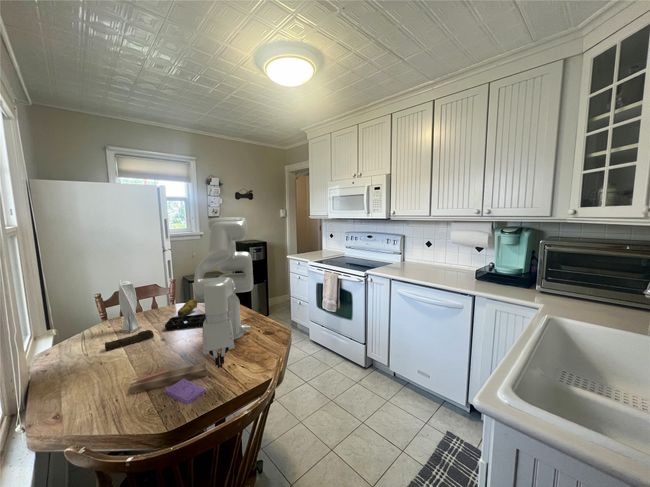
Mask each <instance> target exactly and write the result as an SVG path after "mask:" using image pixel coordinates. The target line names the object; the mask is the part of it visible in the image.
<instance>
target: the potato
mask: <svg viewBox="0 0 650 487" xmlns="http://www.w3.org/2000/svg"><path fill="white" fill-rule="evenodd" d="M197 307H198V301H197V300H196V299H189V300H187V301H186V302H185V303H184V304H183V305H182V306H181V308H179V310H178V311H177V317H179V316H187V315H188V314H190V313H191V312H192V311H194V310H195V309H197Z"/></svg>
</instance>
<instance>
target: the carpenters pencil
mask: <svg viewBox="0 0 650 487" xmlns="http://www.w3.org/2000/svg"><path fill="white" fill-rule="evenodd" d="M166 372H167V370H163V371H160V372H157V373H154V374H149V375H146V376H147V377H145V376H142V377H143V378H141V377H139V378H140V379H137V380H135V381H133V380H132V381H131V383H132V384H135V383H139V382H142V381H145V380H148V379H151V378H155V377H158V376H161V375H164V374H166Z"/></svg>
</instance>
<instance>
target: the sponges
mask: <svg viewBox="0 0 650 487" xmlns="http://www.w3.org/2000/svg"><path fill="white" fill-rule="evenodd" d="M164 391H165V394H167V395H169V396H172V398H175V399H177V400H178V401H180V402H182V403H184V404H186V405H189V404H191V403H192V402H193V401H194V400H196V399H198V398H199V397H200V396H202V395H203V394H205V393H206V387H202V386H200V385H198V384H196V383H194V382H192V381H191V380H186V379H184V378H183V379H182V380H180V381H179V382H177V383H174V384H171V386H169V387H167V388H166V389H165V390H164Z"/></svg>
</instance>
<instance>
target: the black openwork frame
mask: <svg viewBox="0 0 650 487" xmlns="http://www.w3.org/2000/svg"><path fill="white" fill-rule="evenodd" d="M204 321H206V319H205V313H199V314H189V315H184V316H173V317H172V316H171V317H170V318H169V319H168V320H167V321H166V323H165V324H164V327H165V329H166V332H167V331H170V332H171V331H175V330H177V329H178V330H185V329H188V328H190V329H195V328H199V327H201V328H203V322H204Z"/></svg>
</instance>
